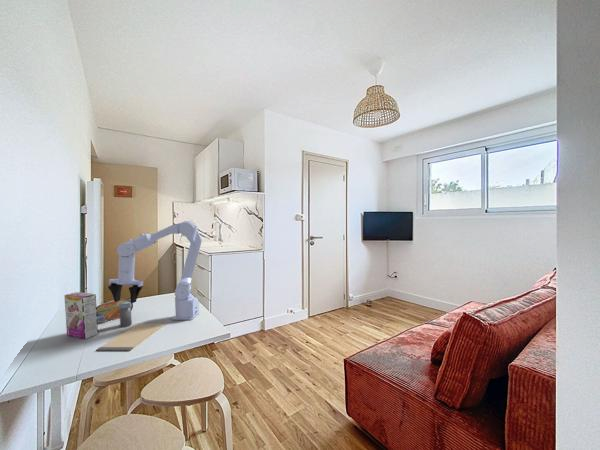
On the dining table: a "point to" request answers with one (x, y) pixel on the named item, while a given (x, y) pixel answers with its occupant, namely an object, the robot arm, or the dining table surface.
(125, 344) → the notepad
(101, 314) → the tin
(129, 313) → the blue grey cylinder
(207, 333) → the dining table surface
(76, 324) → the candy bar box
